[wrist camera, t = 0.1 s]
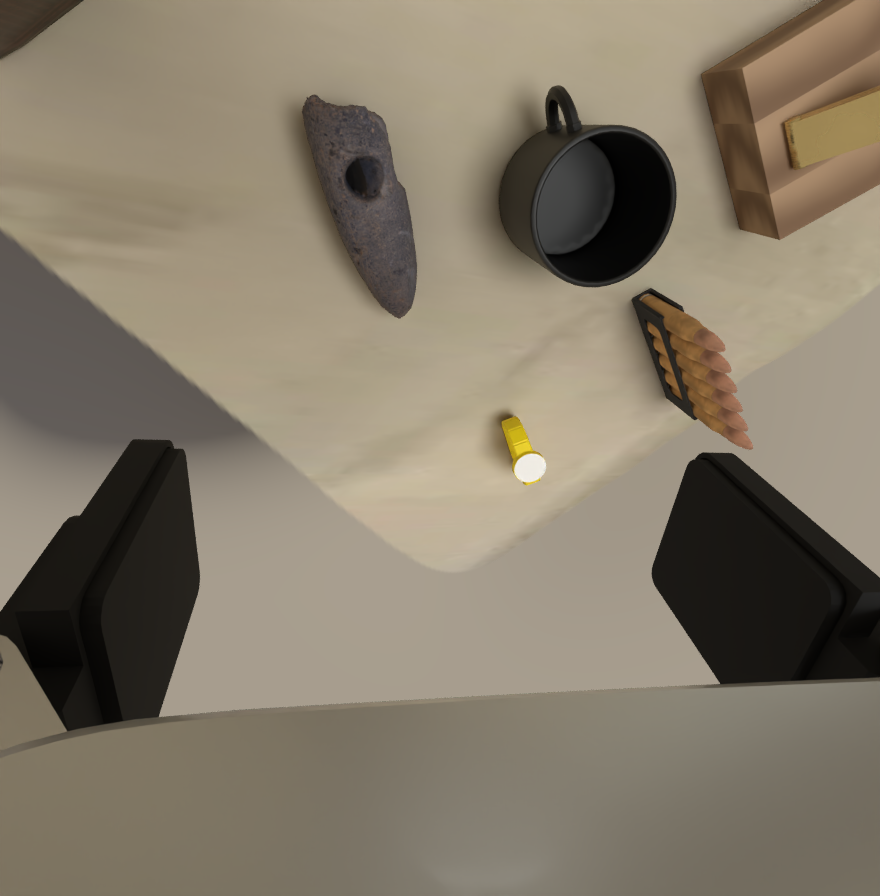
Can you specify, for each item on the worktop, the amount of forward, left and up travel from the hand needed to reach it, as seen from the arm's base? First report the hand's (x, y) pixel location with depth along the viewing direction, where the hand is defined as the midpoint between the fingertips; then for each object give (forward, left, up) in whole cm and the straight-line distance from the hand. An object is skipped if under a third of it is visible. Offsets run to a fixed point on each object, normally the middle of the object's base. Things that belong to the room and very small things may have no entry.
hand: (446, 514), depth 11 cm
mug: (+4, +13, -38) cm, 40 cm away
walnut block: (+9, +36, -37) cm, 53 cm away
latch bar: (+9, +31, -30) cm, 44 cm away
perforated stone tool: (-1, 0, -38) cm, 38 cm away
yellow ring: (+22, +1, -38) cm, 44 cm away
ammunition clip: (+21, +16, -38) cm, 46 cm away
